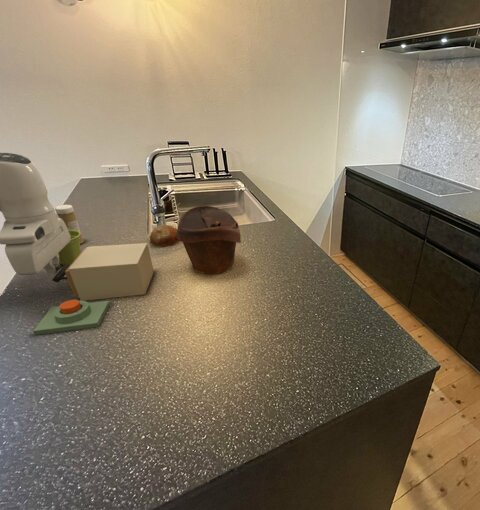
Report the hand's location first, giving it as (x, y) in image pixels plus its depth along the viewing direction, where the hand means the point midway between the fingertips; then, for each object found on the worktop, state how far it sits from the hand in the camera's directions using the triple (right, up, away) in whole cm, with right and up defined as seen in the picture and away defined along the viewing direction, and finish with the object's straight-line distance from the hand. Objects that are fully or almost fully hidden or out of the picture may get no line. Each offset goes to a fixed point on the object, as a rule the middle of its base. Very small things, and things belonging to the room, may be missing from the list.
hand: (54, 271), depth 81 cm
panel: (+11, -11, -7) cm, 17 cm away
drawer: (+9, -4, +5) cm, 11 cm away
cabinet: (+12, -4, +7) cm, 15 cm away
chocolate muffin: (+34, +1, +21) cm, 40 cm away
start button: (+11, -9, -8) cm, 16 cm away
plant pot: (-10, +2, +16) cm, 20 cm away
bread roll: (+11, +10, +34) cm, 37 cm away
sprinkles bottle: (-18, +9, +27) cm, 34 cm away
